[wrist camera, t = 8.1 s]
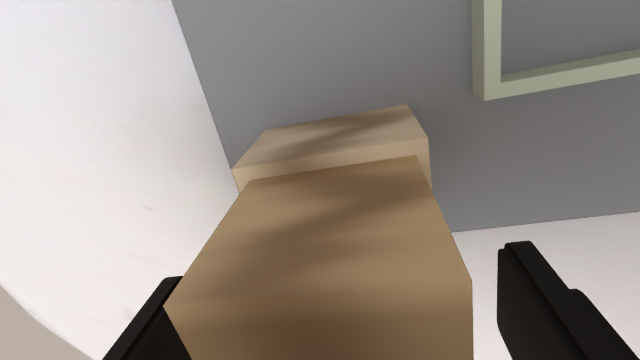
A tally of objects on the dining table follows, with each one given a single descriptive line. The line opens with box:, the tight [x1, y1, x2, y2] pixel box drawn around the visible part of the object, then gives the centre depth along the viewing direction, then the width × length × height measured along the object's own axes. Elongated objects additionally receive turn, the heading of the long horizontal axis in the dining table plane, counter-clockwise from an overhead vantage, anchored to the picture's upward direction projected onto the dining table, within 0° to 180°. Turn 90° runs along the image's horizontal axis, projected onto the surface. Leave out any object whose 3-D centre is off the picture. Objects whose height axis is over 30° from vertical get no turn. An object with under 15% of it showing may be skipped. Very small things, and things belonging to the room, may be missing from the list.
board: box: [171, 0, 640, 233], centre depth 15 cm, size 22×18×1 cm
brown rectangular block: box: [231, 104, 432, 194], centre depth 15 cm, size 7×7×5 cm
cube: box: [163, 155, 474, 360], centre depth 10 cm, size 6×6×6 cm
